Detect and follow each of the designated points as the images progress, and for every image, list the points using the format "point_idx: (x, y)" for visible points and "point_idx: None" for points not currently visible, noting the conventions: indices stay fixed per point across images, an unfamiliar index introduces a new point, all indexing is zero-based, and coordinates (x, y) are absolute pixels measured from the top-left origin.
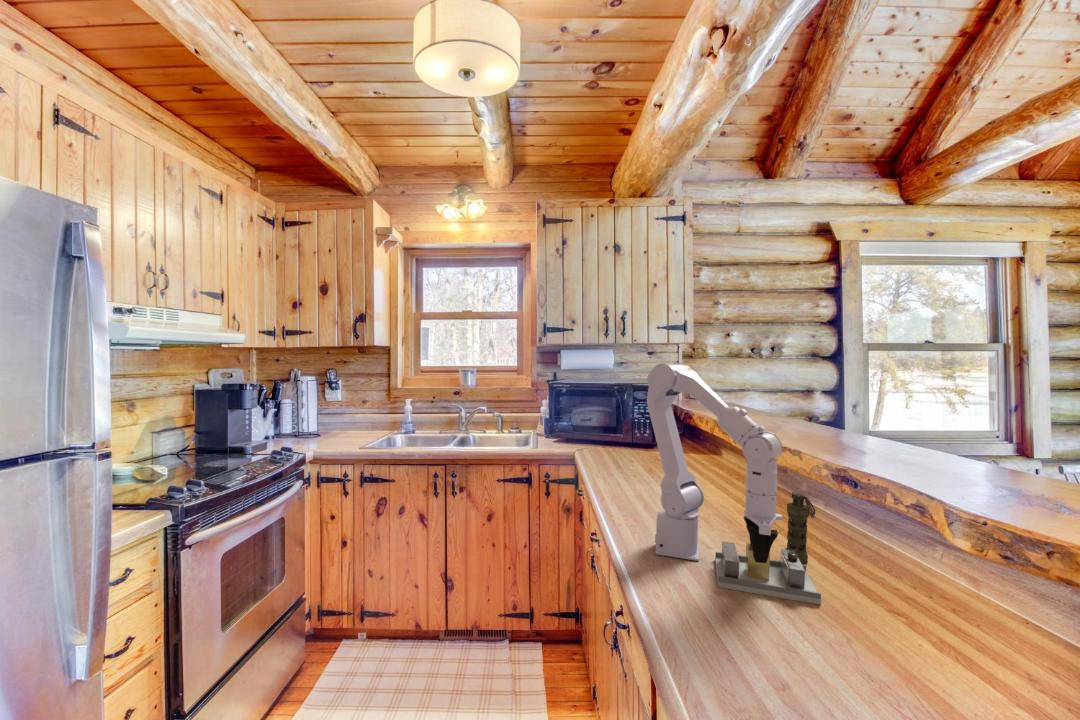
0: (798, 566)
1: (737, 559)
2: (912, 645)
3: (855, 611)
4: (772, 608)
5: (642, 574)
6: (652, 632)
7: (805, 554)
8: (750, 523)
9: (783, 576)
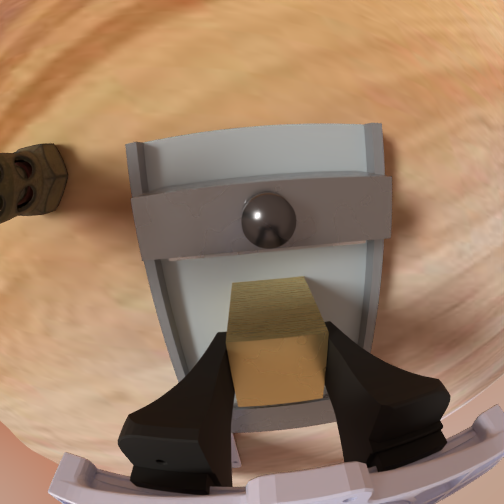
0: (356, 198)
1: None
2: (441, 7)
3: (358, 42)
4: (426, 263)
5: (335, 458)
6: (478, 394)
7: (38, 151)
8: (227, 475)
9: None
